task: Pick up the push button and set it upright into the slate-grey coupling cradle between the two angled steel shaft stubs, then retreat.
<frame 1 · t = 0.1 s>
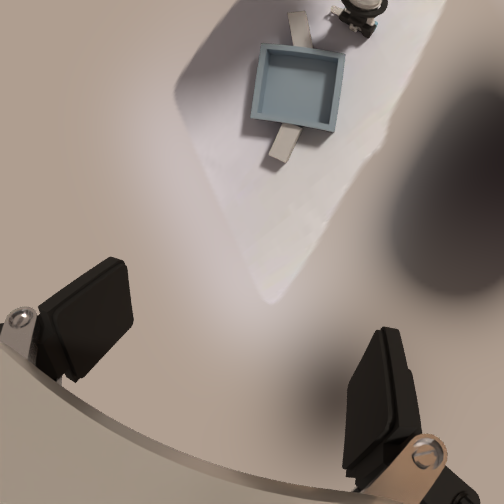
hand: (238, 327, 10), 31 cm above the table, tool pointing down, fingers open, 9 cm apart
push button: (353, 22, 26), on the table
coupling cradle: (300, 88, 32), on the table
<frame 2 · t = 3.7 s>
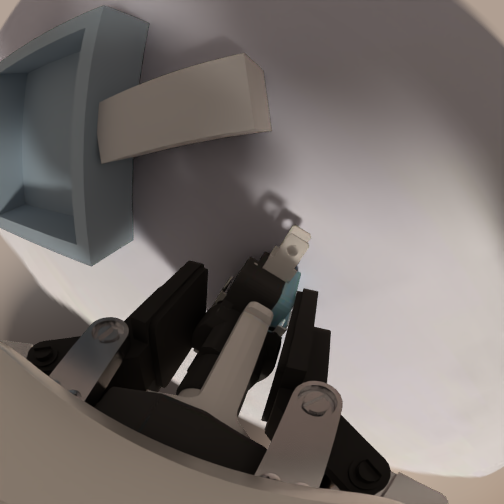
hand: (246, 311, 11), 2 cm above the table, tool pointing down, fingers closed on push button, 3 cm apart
push button: (265, 286, 12), on the table, touching gripper
coupling cradle: (65, 133, 12), on the table
when the fingers open (4 cm above the table, at t = 9.1 s): push button drops 1 cm, resting on coupling cradle.
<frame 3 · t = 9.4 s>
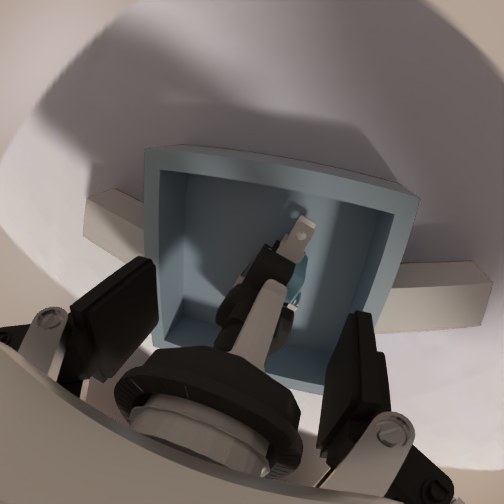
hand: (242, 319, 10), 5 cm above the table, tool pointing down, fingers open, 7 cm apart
push button: (277, 271, 14), resting on coupling cradle
coupling cradle: (269, 263, 14), on the table
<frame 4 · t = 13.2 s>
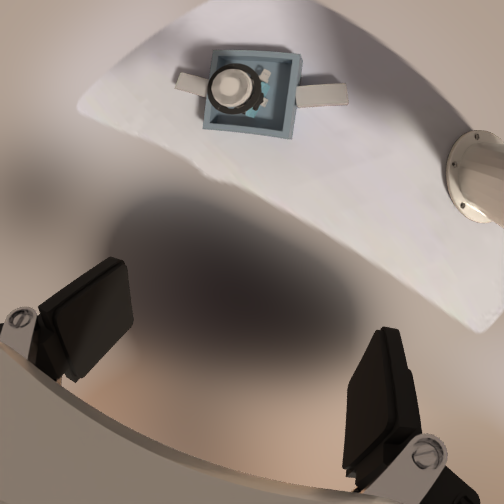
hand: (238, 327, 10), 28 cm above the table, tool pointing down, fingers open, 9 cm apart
push button: (259, 95, 31), resting on coupling cradle
coupling cradle: (255, 94, 31), on the table
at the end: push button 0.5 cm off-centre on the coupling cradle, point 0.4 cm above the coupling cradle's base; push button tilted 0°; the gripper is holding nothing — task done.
